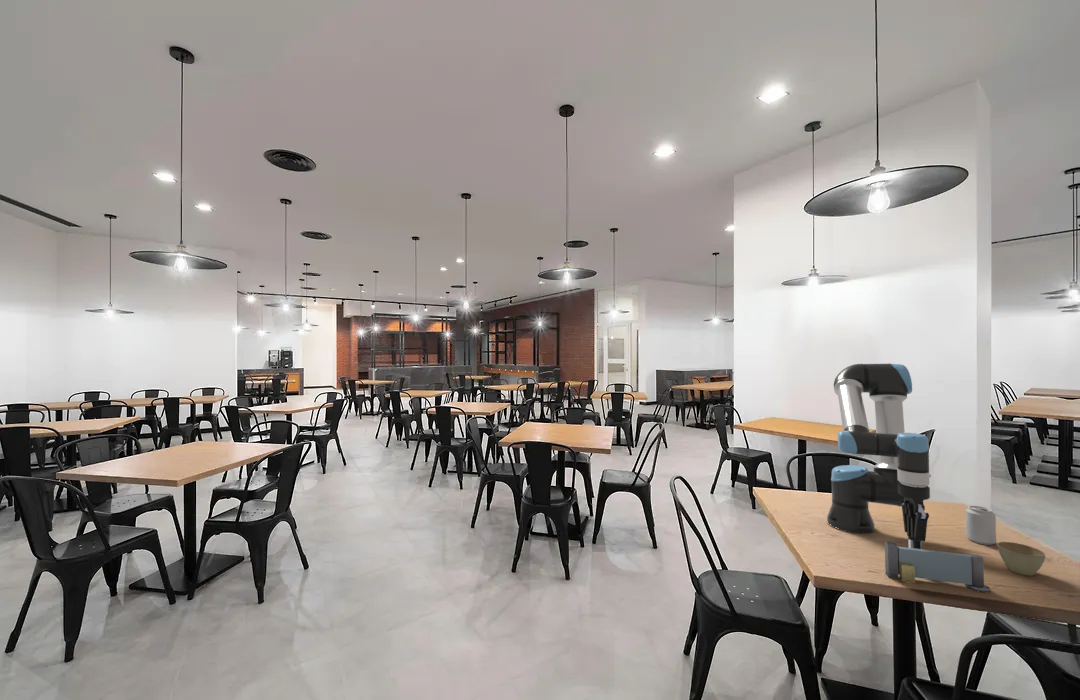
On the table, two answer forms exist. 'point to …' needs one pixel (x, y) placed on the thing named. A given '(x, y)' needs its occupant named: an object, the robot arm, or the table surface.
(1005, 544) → the olive beige bowl
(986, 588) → the hinge flange
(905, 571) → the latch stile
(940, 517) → the table surface
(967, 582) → the gate
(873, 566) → the table surface
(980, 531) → the can
